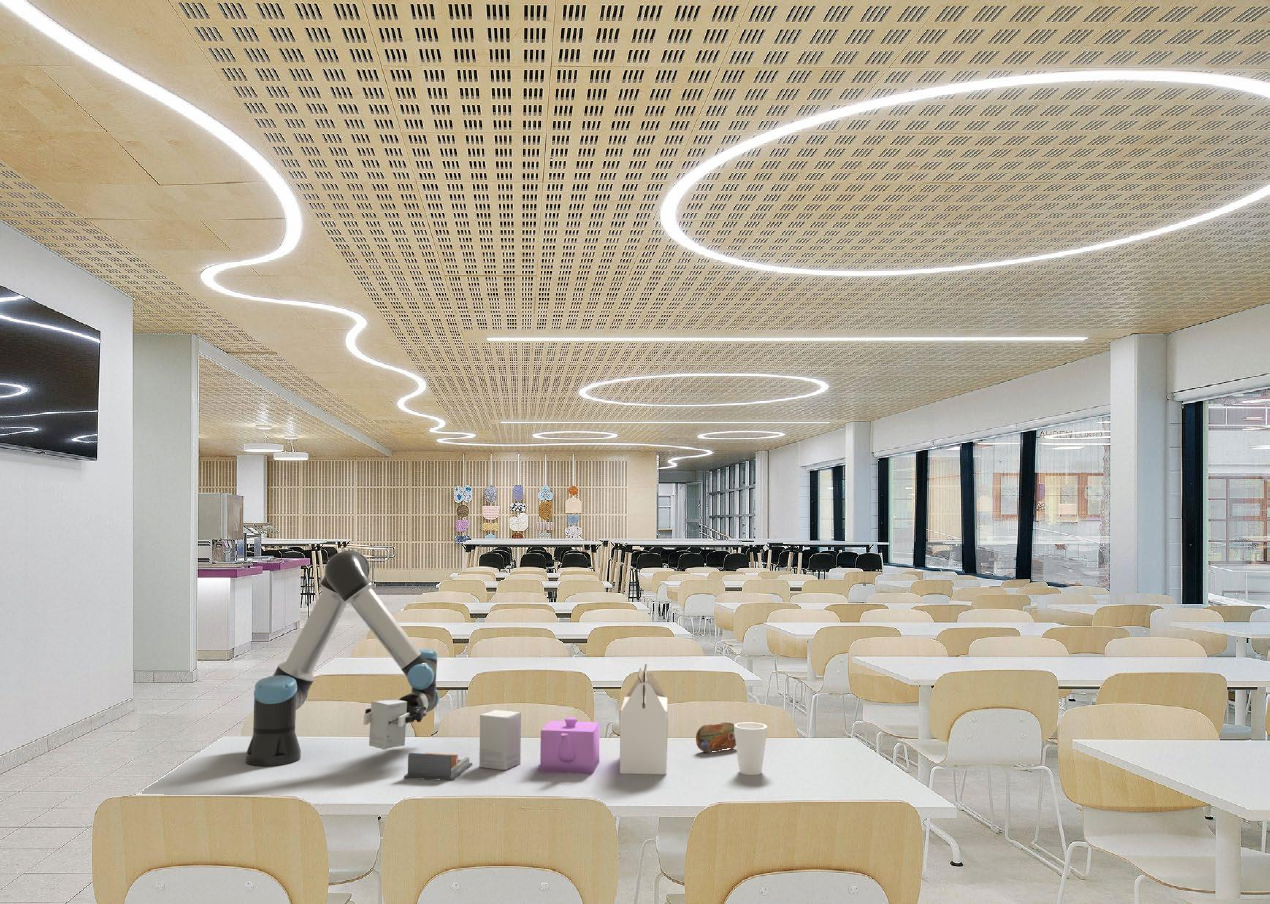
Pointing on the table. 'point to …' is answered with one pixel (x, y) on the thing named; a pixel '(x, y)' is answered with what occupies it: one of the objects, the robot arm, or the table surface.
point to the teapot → (570, 746)
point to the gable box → (644, 728)
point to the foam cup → (750, 746)
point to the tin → (716, 737)
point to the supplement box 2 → (500, 739)
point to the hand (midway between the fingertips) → (382, 720)
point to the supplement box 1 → (387, 723)
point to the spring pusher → (453, 758)
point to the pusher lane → (435, 766)
